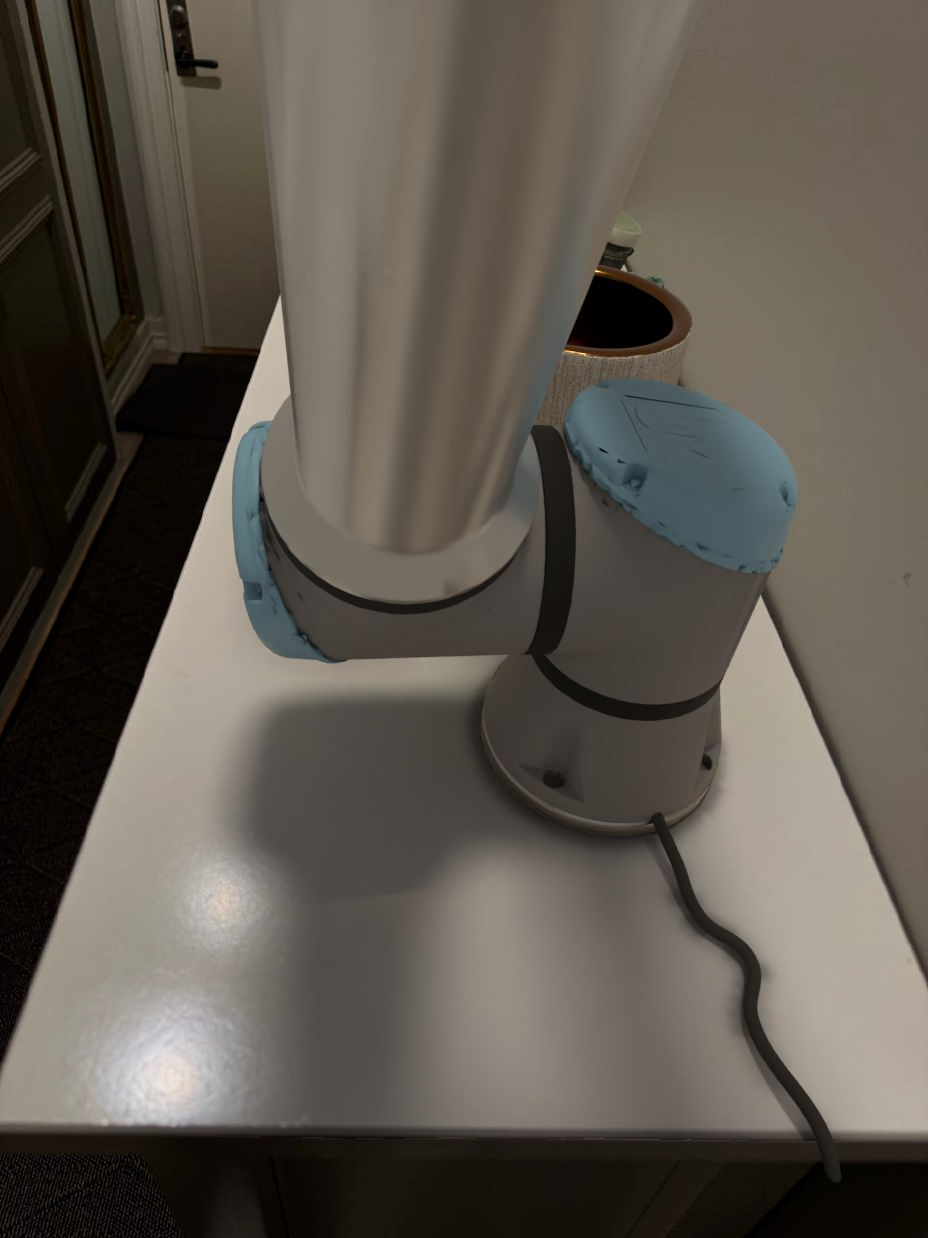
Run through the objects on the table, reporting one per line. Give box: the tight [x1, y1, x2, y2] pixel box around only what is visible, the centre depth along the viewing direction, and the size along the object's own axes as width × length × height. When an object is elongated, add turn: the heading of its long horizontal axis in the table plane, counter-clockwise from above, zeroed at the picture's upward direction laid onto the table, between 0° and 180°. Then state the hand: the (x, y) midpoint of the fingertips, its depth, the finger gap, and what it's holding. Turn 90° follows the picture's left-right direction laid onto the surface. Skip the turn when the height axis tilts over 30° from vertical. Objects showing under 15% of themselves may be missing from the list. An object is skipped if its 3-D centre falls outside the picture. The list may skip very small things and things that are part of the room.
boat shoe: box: [598, 209, 643, 270], centre depth 113 cm, size 11×29×9 cm, turn 10°
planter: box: [533, 265, 694, 425], centre depth 73 cm, size 18×18×16 cm
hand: (375, 361), depth 66 cm, fingers closed on walnut stick, 3 cm apart
